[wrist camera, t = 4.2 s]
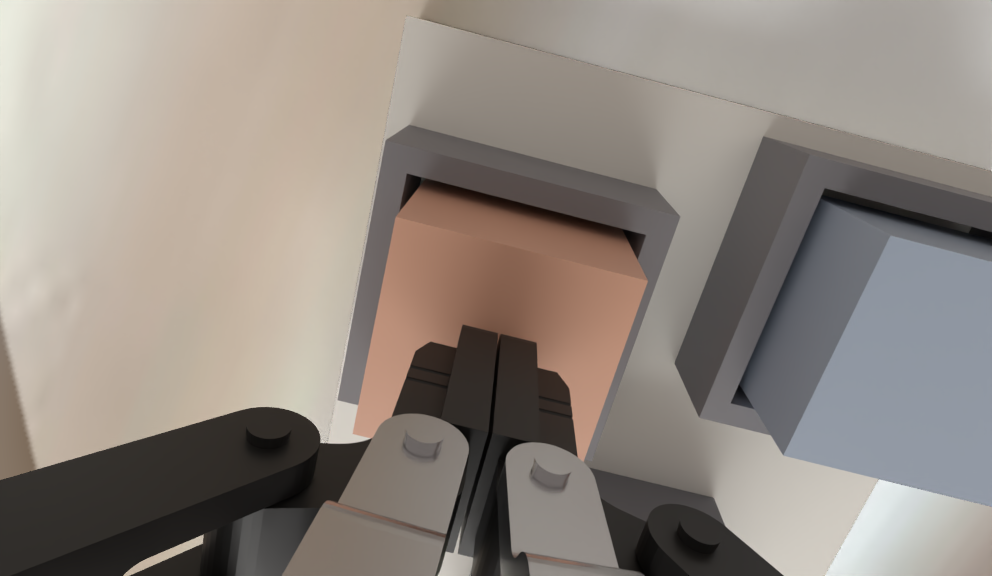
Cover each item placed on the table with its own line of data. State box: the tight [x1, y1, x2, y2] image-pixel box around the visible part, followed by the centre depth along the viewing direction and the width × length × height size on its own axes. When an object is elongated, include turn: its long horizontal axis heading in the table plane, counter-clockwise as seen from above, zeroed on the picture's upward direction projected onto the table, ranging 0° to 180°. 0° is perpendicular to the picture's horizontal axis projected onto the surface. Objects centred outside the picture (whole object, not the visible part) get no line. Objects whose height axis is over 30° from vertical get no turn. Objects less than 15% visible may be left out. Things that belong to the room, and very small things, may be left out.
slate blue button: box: [739, 195, 992, 507], centre depth 15 cm, size 5×5×4 cm
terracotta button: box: [353, 178, 648, 462], centre depth 15 cm, size 5×5×4 cm
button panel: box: [328, 15, 992, 576], centre depth 19 cm, size 17×19×5 cm
